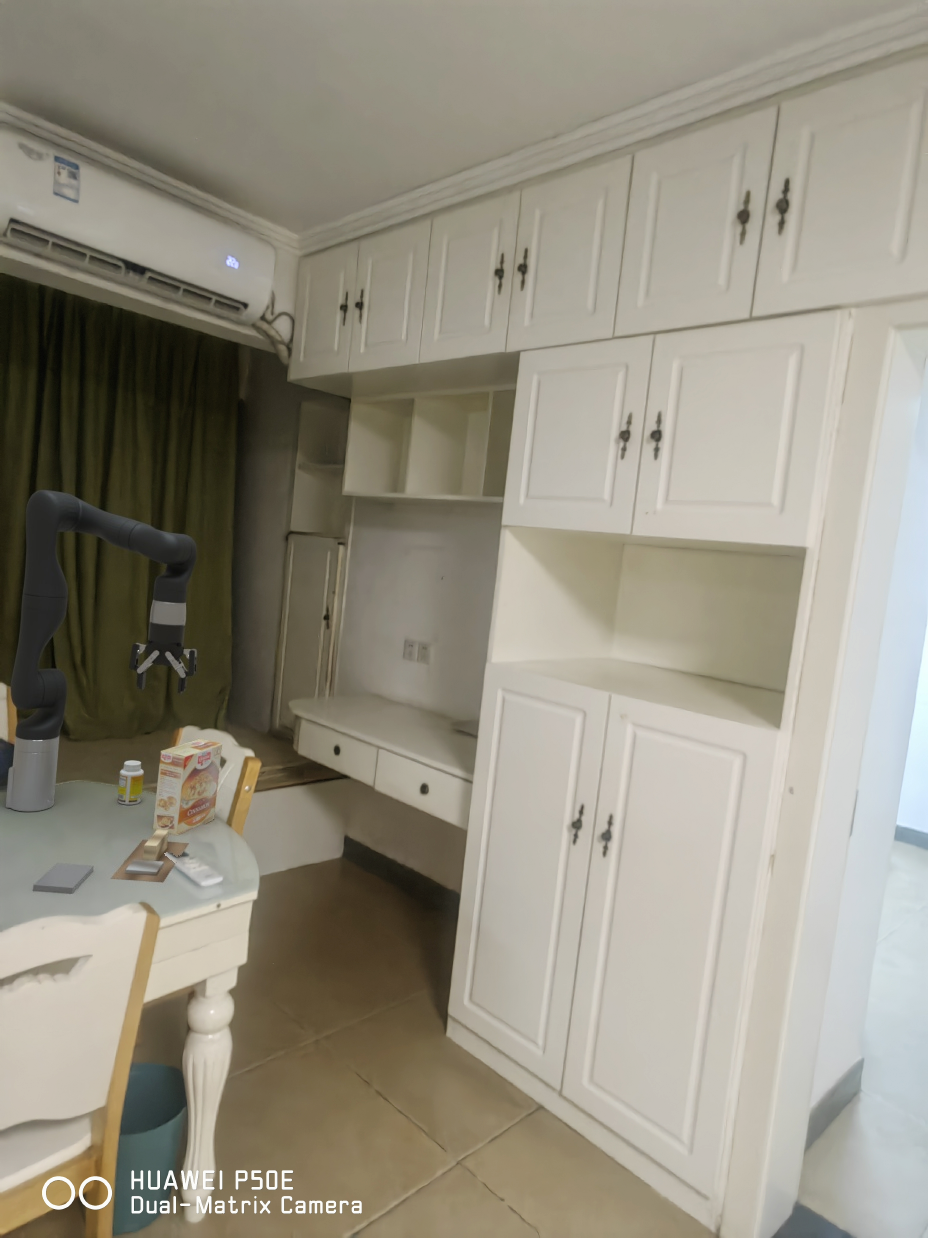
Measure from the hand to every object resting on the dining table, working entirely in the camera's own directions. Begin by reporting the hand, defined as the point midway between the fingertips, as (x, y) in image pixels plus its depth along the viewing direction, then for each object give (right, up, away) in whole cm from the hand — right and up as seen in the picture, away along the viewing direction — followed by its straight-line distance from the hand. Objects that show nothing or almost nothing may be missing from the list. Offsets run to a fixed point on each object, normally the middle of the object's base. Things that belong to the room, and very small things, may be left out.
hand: (161, 691), depth 171 cm
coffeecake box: (+2, -33, +8) cm, 34 cm away
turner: (+4, -34, -14) cm, 37 cm away
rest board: (+4, -35, -14) cm, 38 cm away
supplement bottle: (-16, -30, +19) cm, 39 cm away
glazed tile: (-8, -33, -22) cm, 41 cm away
